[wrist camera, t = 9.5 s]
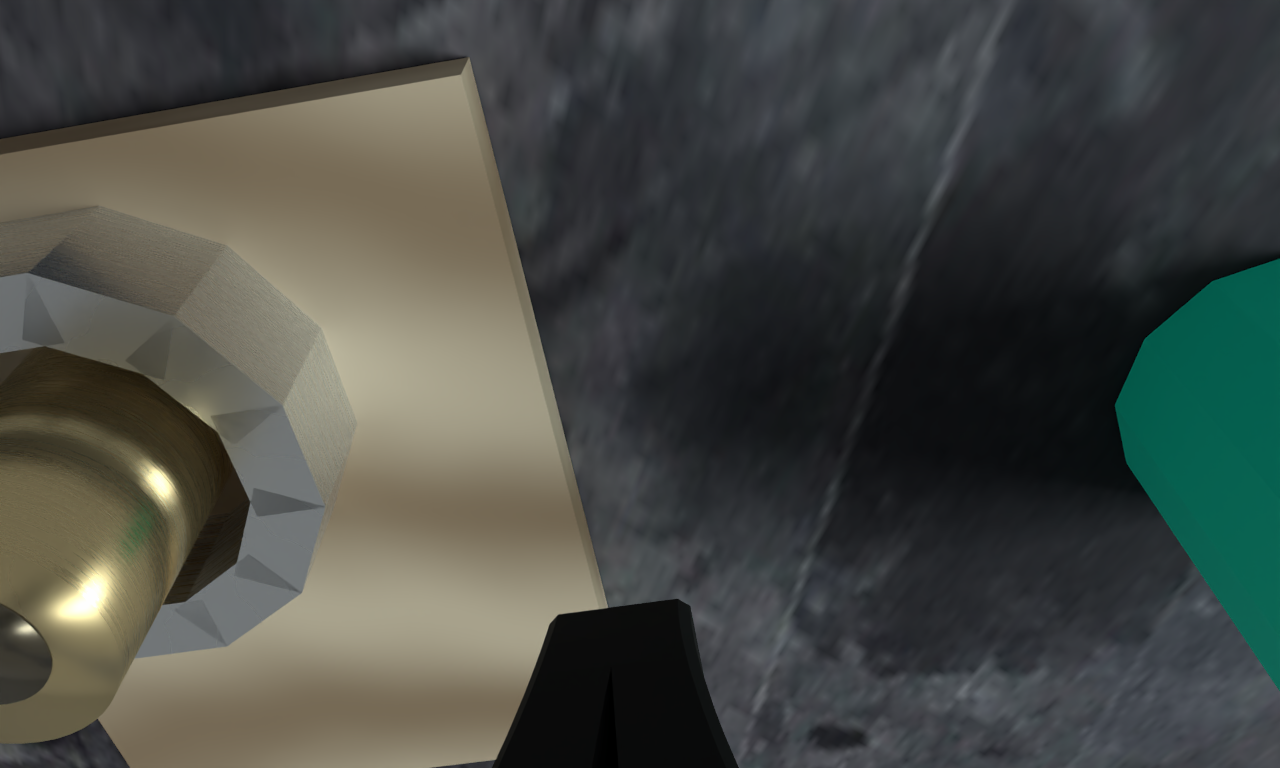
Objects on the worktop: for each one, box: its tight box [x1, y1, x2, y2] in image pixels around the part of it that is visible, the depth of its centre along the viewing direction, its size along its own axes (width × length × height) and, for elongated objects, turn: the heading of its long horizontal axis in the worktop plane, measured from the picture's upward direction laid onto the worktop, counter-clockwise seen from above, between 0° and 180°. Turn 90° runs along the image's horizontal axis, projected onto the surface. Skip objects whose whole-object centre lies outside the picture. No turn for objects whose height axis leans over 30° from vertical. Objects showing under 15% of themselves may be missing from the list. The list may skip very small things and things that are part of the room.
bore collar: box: [0, 206, 357, 659], centre depth 18 cm, size 8×8×2 cm
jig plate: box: [0, 57, 608, 768], centre depth 21 cm, size 16×12×1 cm
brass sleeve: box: [0, 346, 234, 743], centre depth 17 cm, size 4×4×6 cm
